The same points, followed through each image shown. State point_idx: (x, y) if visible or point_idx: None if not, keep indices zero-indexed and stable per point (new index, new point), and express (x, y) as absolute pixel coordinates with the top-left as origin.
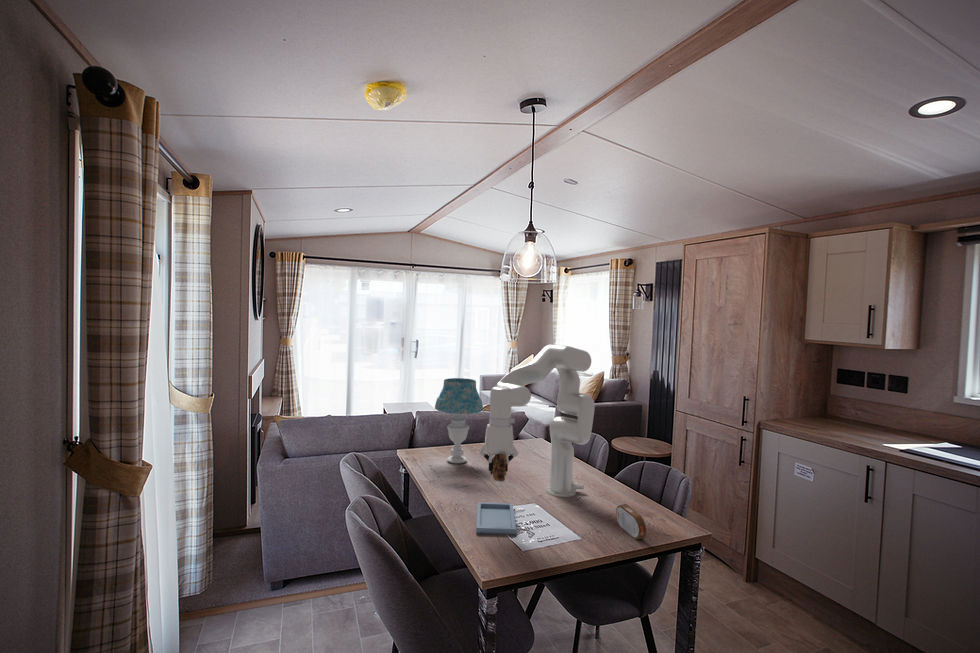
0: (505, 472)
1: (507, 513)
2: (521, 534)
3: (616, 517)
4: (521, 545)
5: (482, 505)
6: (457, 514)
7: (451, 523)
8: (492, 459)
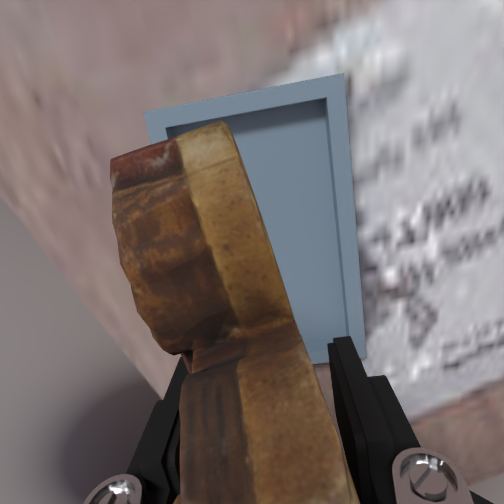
0: None
1: (317, 170)
2: (382, 332)
3: None
4: None
5: (177, 126)
6: (89, 219)
7: (98, 305)
8: (135, 301)
